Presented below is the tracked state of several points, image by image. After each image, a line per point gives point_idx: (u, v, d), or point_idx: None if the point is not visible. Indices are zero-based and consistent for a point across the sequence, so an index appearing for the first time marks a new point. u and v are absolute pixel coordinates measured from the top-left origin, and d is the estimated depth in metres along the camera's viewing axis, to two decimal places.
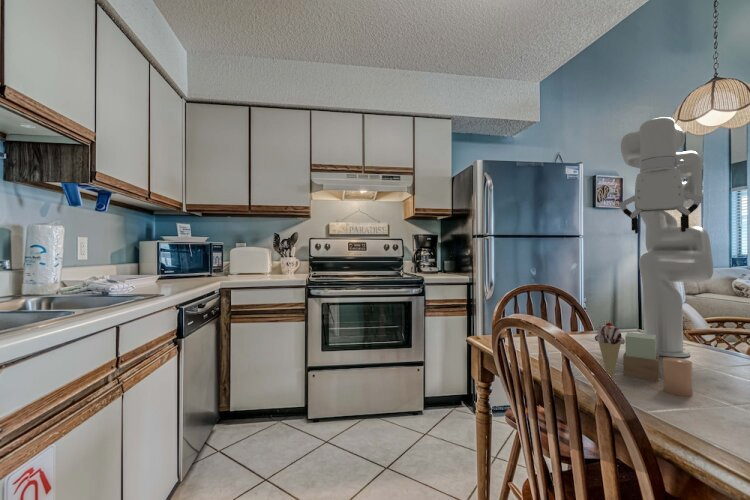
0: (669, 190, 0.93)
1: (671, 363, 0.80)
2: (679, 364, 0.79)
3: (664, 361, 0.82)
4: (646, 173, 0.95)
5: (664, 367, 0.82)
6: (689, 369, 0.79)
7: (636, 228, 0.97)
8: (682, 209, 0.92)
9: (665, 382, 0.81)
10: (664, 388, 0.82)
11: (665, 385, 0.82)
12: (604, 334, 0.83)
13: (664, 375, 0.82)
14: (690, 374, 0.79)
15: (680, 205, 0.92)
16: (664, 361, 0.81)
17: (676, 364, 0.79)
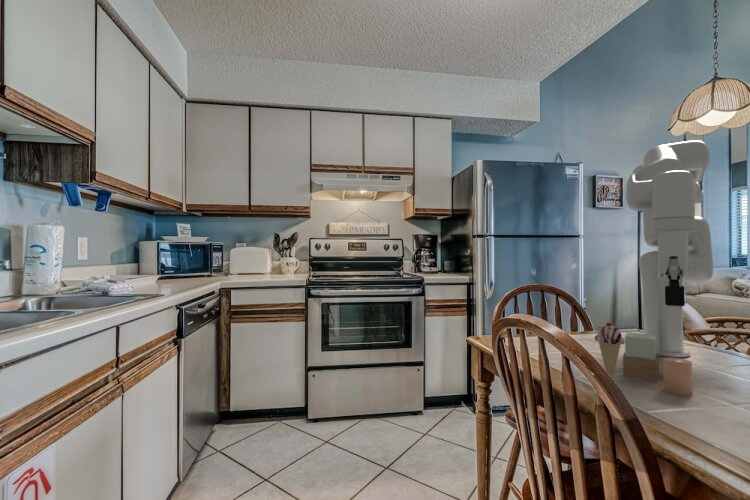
0: None
1: (671, 363, 0.80)
2: (679, 364, 0.79)
3: (664, 361, 0.82)
4: (687, 233, 0.79)
5: (664, 367, 0.82)
6: (689, 369, 0.79)
7: None
8: None
9: (665, 382, 0.81)
10: (664, 388, 0.82)
11: (665, 385, 0.82)
12: (604, 334, 0.83)
13: (664, 375, 0.82)
14: (690, 374, 0.79)
15: None
16: (664, 361, 0.81)
17: (676, 364, 0.79)
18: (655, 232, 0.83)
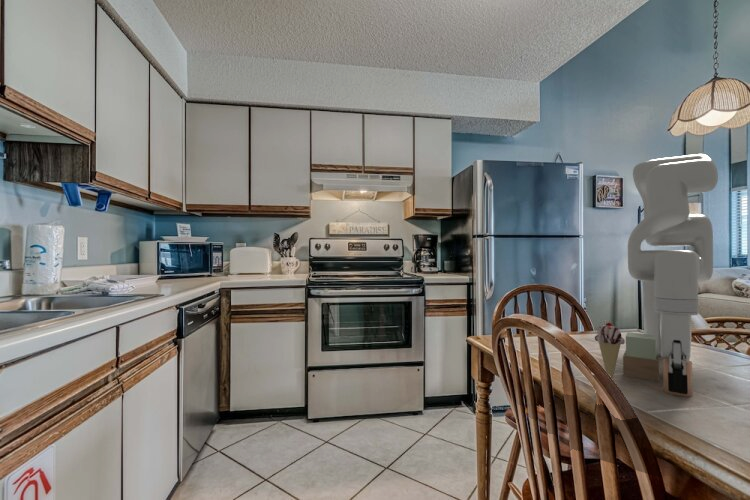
0: None
1: None
2: None
3: (664, 361, 0.82)
4: (690, 316, 0.78)
5: (664, 367, 0.82)
6: (689, 369, 0.79)
7: None
8: None
9: (665, 382, 0.81)
10: (664, 388, 0.82)
11: (665, 384, 0.82)
12: (604, 334, 0.83)
13: (664, 375, 0.82)
14: (690, 374, 0.79)
15: None
16: (664, 361, 0.81)
17: None
18: (658, 311, 0.82)
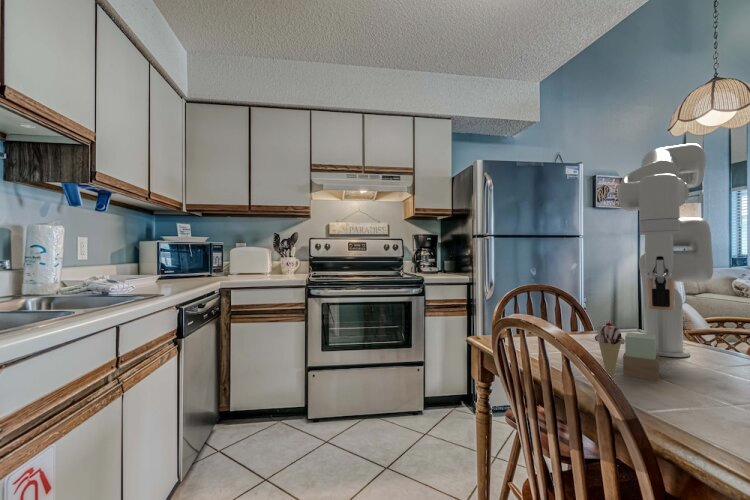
0: None
1: None
2: None
3: (648, 280, 0.87)
4: (672, 234, 0.83)
5: (648, 285, 0.87)
6: (671, 284, 0.84)
7: (669, 301, 0.83)
8: None
9: (649, 299, 0.87)
10: (648, 305, 0.87)
11: (649, 302, 0.87)
12: (604, 334, 0.83)
13: (648, 293, 0.87)
14: (672, 289, 0.84)
15: None
16: (649, 279, 0.87)
17: None
18: (642, 233, 0.87)
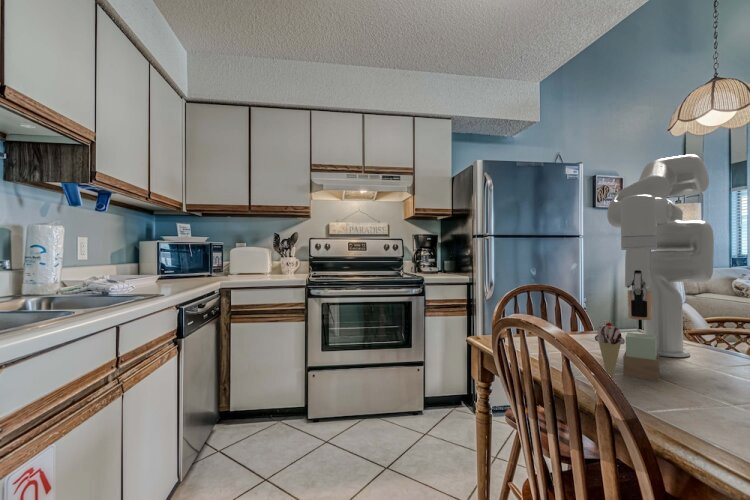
0: None
1: None
2: None
3: (628, 291, 0.94)
4: (649, 250, 0.91)
5: (628, 297, 0.94)
6: (649, 296, 0.91)
7: None
8: None
9: (629, 309, 0.94)
10: (628, 315, 0.94)
11: (629, 312, 0.94)
12: (604, 334, 0.83)
13: (628, 304, 0.94)
14: (649, 301, 0.91)
15: None
16: (629, 291, 0.94)
17: None
18: (623, 248, 0.94)
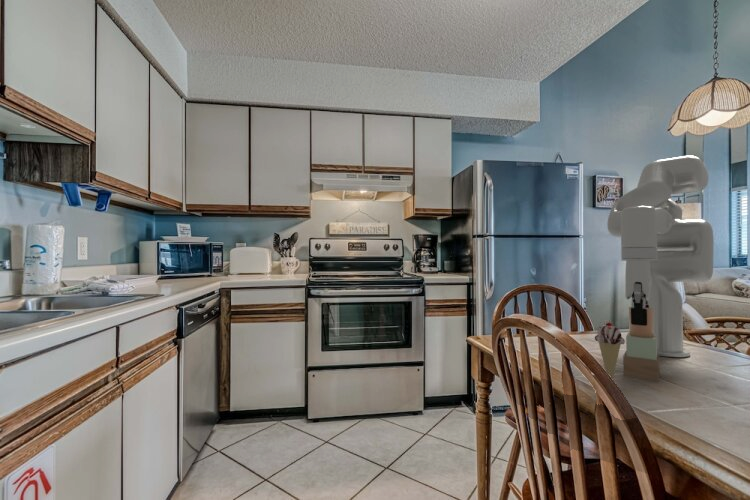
0: None
1: None
2: None
3: (630, 309, 0.94)
4: (649, 261, 0.91)
5: (630, 314, 0.94)
6: (650, 314, 0.91)
7: (646, 320, 0.89)
8: (647, 299, 0.96)
9: (630, 327, 0.94)
10: (630, 332, 0.94)
11: (630, 329, 0.94)
12: (604, 334, 0.83)
13: (630, 321, 0.94)
14: (651, 319, 0.91)
15: None
16: (630, 308, 0.94)
17: None
18: (623, 259, 0.94)
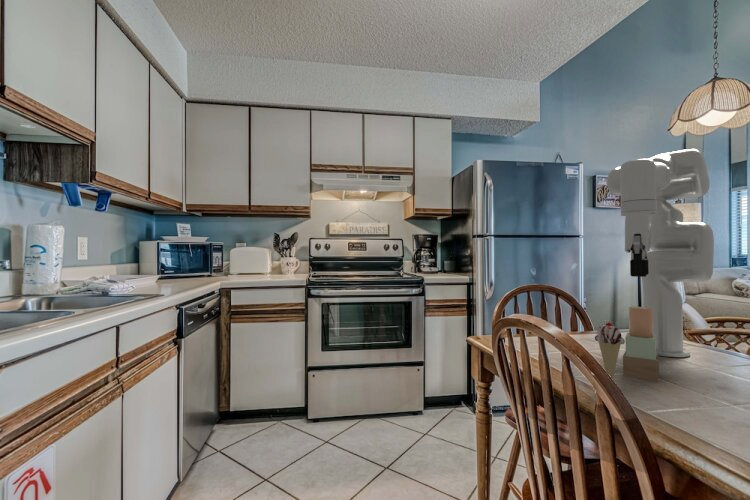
0: None
1: (636, 310, 0.92)
2: (643, 310, 0.91)
3: (630, 309, 0.94)
4: (649, 214, 0.91)
5: (630, 314, 0.94)
6: (651, 314, 0.91)
7: (646, 271, 0.89)
8: (647, 253, 0.97)
9: (631, 327, 0.94)
10: (630, 332, 0.94)
11: (630, 329, 0.94)
12: (604, 334, 0.83)
13: (630, 321, 0.94)
14: (651, 319, 0.91)
15: None
16: (630, 308, 0.94)
17: (640, 310, 0.92)
18: (623, 213, 0.94)
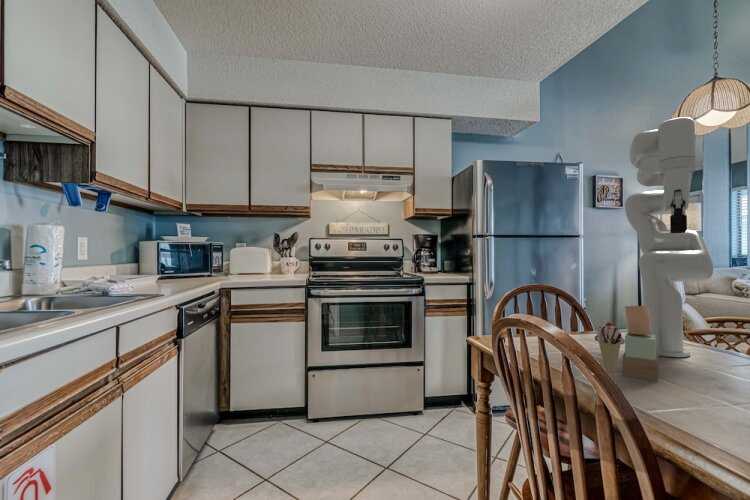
0: None
1: (633, 307, 0.93)
2: (640, 306, 0.92)
3: (627, 307, 0.94)
4: (688, 170, 0.93)
5: (627, 312, 0.94)
6: (647, 311, 0.92)
7: (686, 226, 0.91)
8: None
9: (630, 325, 0.93)
10: (629, 331, 0.94)
11: (630, 328, 0.93)
12: (604, 334, 0.83)
13: (628, 319, 0.94)
14: (648, 315, 0.92)
15: None
16: (627, 307, 0.94)
17: (638, 307, 0.92)
18: (661, 171, 0.97)
